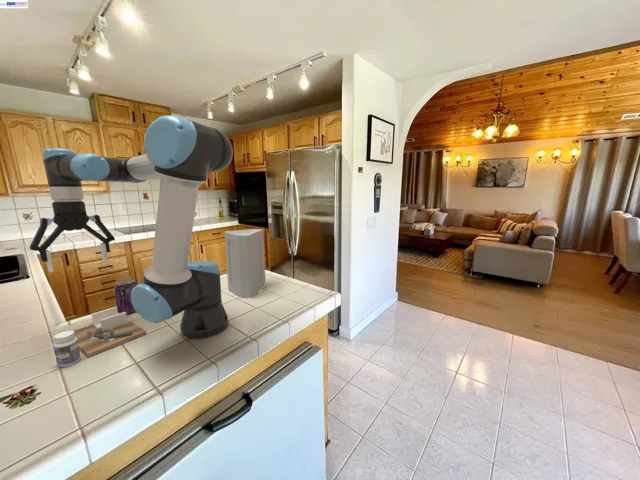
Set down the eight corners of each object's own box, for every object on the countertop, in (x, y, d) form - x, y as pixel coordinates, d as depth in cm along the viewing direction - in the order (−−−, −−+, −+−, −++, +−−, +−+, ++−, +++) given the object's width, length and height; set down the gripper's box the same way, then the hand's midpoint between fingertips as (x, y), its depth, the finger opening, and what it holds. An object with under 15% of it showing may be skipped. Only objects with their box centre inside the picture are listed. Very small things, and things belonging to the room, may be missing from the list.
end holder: (127, 323, 91) (126, 312, 91) (102, 332, 86) (101, 320, 85) (117, 316, 96) (115, 306, 95) (93, 324, 90) (91, 314, 90)
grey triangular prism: (238, 282, 136) (235, 228, 131) (266, 284, 134) (263, 229, 129) (219, 297, 117) (214, 234, 112) (251, 299, 115) (248, 235, 110)
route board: (146, 334, 87) (144, 323, 86) (88, 357, 74) (86, 345, 74) (120, 318, 98) (118, 308, 97) (65, 336, 85) (63, 325, 84)
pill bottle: (52, 368, 70) (46, 339, 69) (67, 357, 75) (62, 329, 73) (71, 367, 70) (66, 338, 69) (85, 356, 75) (80, 329, 74)
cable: (133, 334, 84) (133, 331, 84) (122, 341, 80) (122, 338, 80) (98, 330, 87) (98, 328, 86) (86, 337, 83) (85, 335, 82)
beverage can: (128, 316, 99) (124, 285, 97) (113, 314, 101) (108, 284, 98) (144, 308, 106) (140, 279, 104) (129, 306, 107) (125, 278, 105)
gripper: (112, 199, 95) (120, 257, 99) (5, 202, 75) (21, 274, 79) (120, 199, 91) (128, 259, 95) (9, 202, 71) (26, 278, 74)
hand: (80, 266), depth 87 cm, fingers open, 13 cm apart
